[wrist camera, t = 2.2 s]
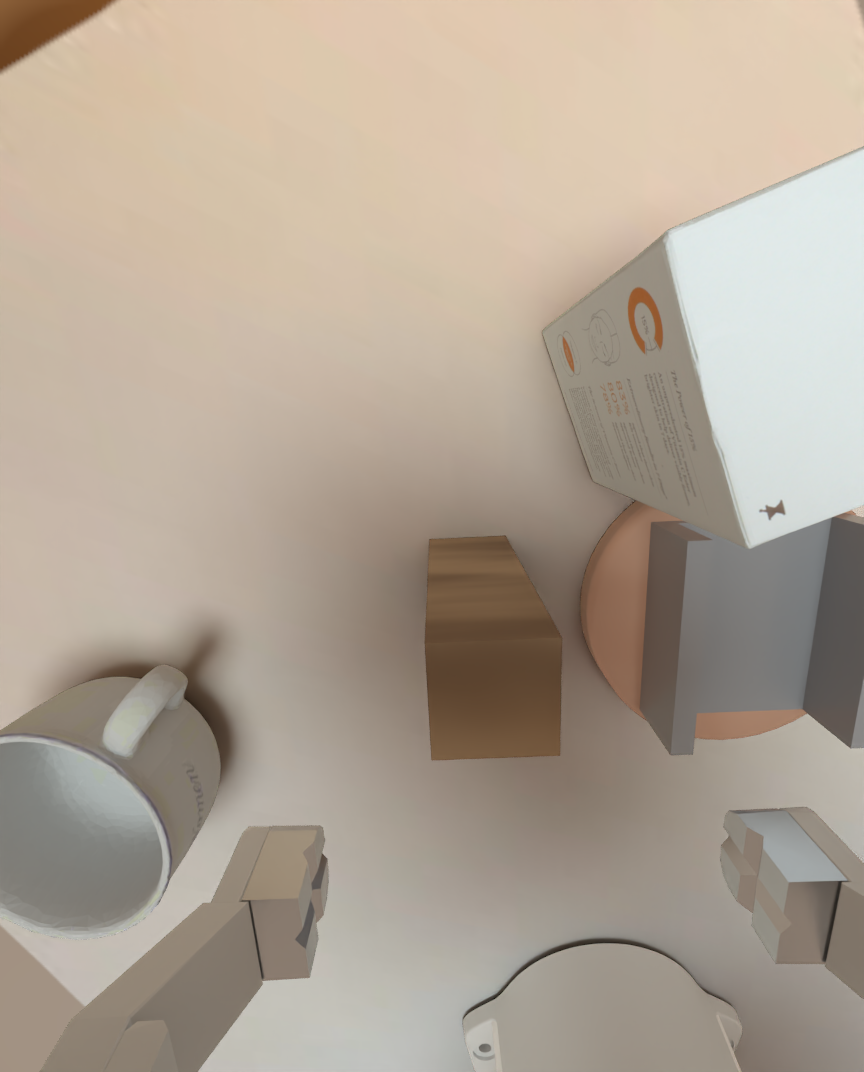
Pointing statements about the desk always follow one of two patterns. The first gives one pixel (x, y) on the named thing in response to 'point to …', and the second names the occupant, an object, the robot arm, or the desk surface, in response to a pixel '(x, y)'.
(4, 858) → the teacup
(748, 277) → the small box
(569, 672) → the desk surface
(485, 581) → the wood grain beam
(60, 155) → the desk surface
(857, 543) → the round base with bracket
